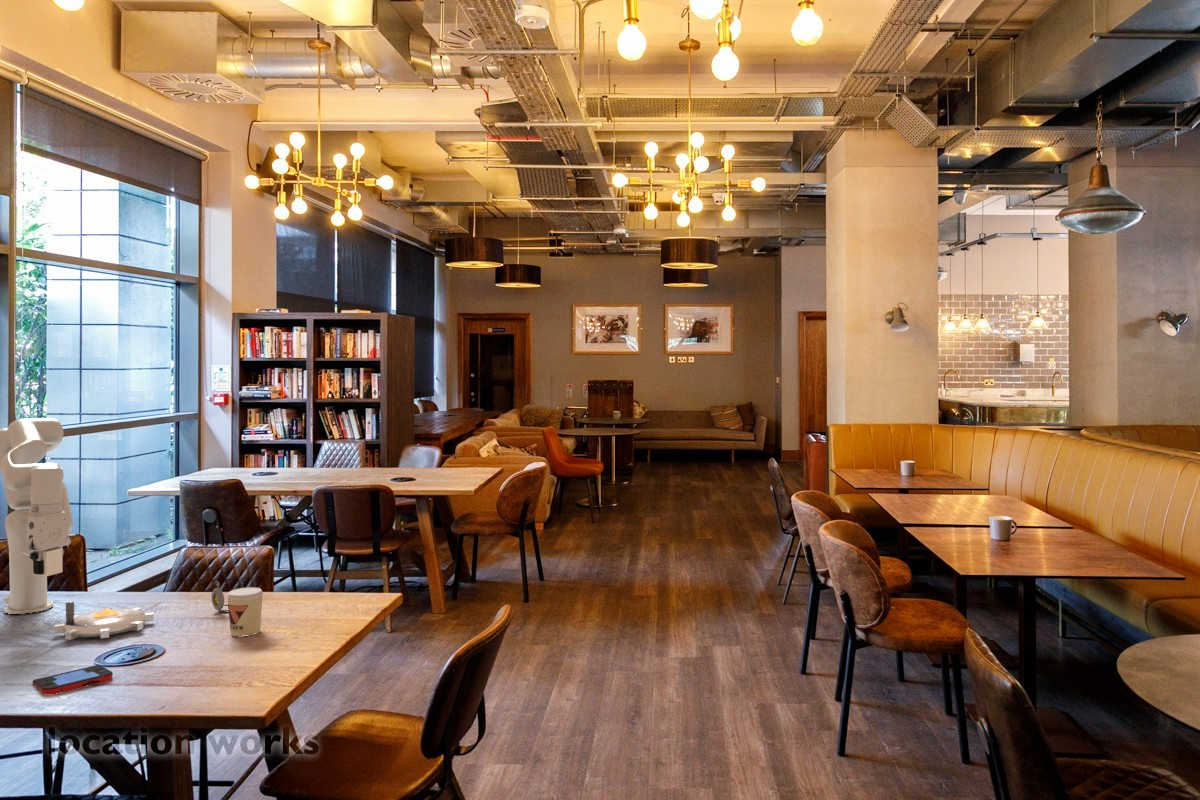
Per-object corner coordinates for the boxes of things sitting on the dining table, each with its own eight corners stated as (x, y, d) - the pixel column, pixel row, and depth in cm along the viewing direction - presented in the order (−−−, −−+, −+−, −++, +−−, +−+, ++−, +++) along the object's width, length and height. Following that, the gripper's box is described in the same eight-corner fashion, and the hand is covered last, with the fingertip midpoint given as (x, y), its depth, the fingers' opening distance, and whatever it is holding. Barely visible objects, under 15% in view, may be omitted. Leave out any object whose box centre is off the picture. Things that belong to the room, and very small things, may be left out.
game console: (99, 668, 205) (99, 660, 205) (115, 682, 196) (115, 673, 196) (31, 684, 195) (31, 675, 195) (44, 699, 186) (44, 689, 186)
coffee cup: (220, 635, 230) (219, 593, 230) (248, 626, 238) (247, 585, 238) (242, 640, 226) (242, 597, 226) (270, 630, 234) (270, 589, 234)
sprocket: (51, 645, 218) (51, 615, 218) (57, 621, 239) (57, 594, 239) (155, 630, 231) (154, 602, 230) (152, 609, 252) (151, 583, 251)
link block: (33, 574, 233) (32, 550, 233) (48, 570, 238) (48, 546, 238) (46, 576, 232) (46, 551, 232) (62, 572, 237) (62, 547, 236)
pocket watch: (244, 607, 258) (244, 576, 258) (230, 615, 250) (229, 582, 249) (220, 606, 259) (220, 575, 258) (205, 614, 250) (204, 582, 250)
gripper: (29, 514, 225) (30, 580, 226) (82, 505, 241) (83, 565, 242) (8, 513, 227) (9, 578, 228) (62, 503, 243) (63, 564, 244)
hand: (47, 571), depth 235 cm, fingers closed on link block, 4 cm apart
